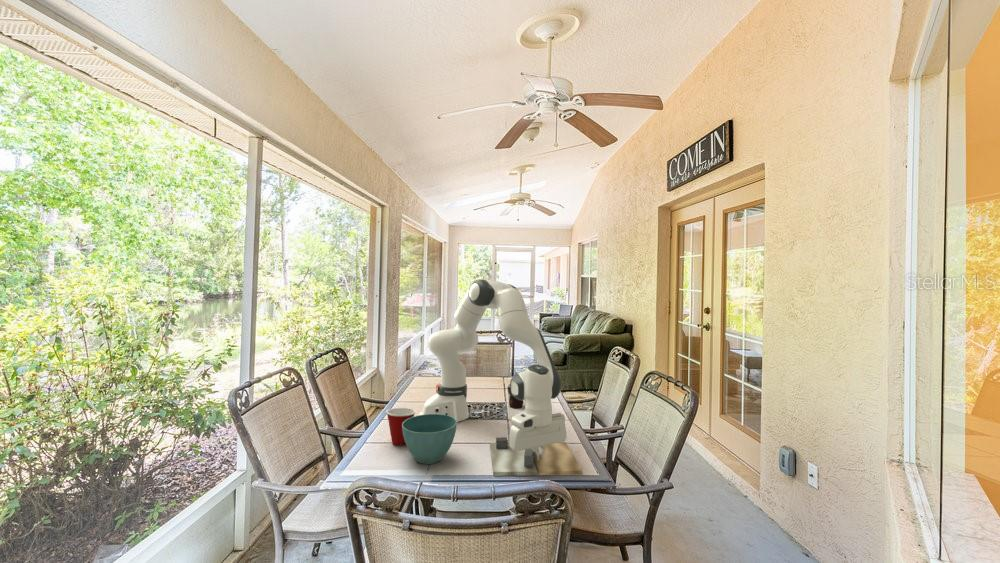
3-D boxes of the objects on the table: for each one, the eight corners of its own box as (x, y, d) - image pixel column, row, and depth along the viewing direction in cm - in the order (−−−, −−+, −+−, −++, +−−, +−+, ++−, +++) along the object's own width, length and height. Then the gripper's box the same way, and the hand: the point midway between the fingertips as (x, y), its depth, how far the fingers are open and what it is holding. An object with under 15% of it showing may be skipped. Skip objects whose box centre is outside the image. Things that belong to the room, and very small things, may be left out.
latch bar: (526, 447, 142) (526, 436, 142) (536, 448, 142) (536, 437, 142) (522, 466, 127) (523, 454, 127) (534, 467, 127) (534, 454, 127)
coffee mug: (523, 410, 188) (523, 388, 188) (505, 408, 190) (505, 387, 190) (526, 402, 200) (527, 382, 200) (509, 401, 201) (510, 381, 201)
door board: (493, 475, 124) (493, 471, 124) (490, 446, 146) (490, 443, 146) (582, 474, 126) (582, 470, 126) (565, 445, 148) (565, 442, 148)
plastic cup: (421, 440, 151) (421, 408, 151) (402, 450, 141) (403, 416, 141) (398, 434, 156) (399, 404, 156) (379, 444, 146) (379, 412, 146)
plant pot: (407, 475, 124) (407, 435, 124) (397, 452, 140) (398, 417, 140) (463, 465, 131) (463, 428, 131) (447, 444, 148) (448, 411, 148)
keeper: (496, 449, 141) (496, 440, 141) (495, 445, 144) (496, 437, 144) (507, 449, 141) (507, 440, 141) (507, 445, 144) (507, 437, 144)
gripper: (559, 409, 138) (559, 450, 138) (506, 418, 129) (506, 461, 129) (570, 414, 133) (570, 456, 132) (516, 424, 123) (516, 469, 123)
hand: (538, 459), depth 130 cm, fingers closed
